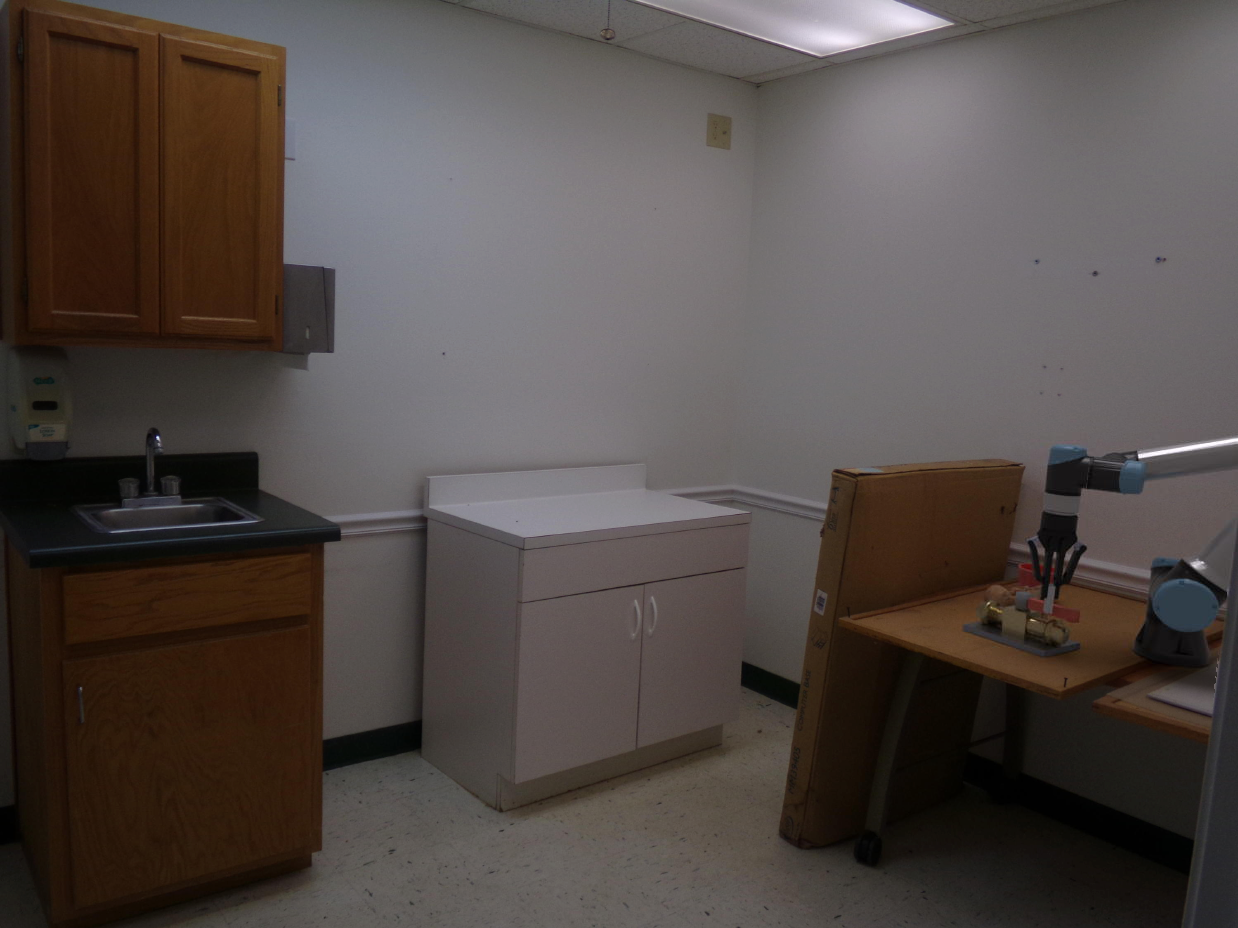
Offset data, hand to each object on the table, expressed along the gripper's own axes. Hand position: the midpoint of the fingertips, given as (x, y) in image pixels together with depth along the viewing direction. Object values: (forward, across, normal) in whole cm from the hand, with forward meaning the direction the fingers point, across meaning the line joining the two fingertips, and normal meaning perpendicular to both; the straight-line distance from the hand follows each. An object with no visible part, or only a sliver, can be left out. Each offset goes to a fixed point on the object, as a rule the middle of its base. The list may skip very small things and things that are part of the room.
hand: (1047, 611), depth 211 cm
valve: (+9, +4, -8) cm, 13 cm away
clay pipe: (+10, +1, -26) cm, 28 cm away
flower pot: (+10, -8, -48) cm, 50 cm away
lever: (+2, -1, -3) cm, 3 cm away
